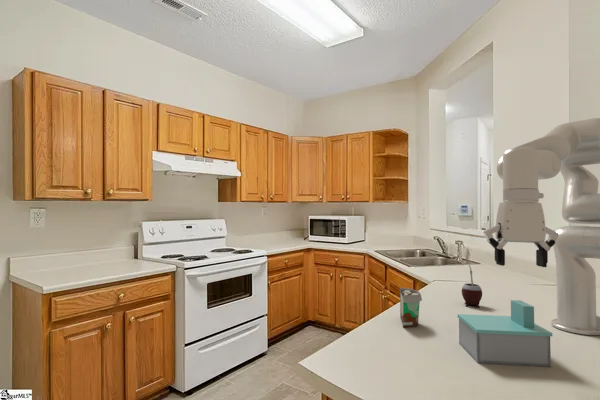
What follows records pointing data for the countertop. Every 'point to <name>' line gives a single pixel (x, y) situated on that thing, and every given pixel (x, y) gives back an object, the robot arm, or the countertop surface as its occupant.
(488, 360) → the tub
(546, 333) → the lid
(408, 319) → the food container
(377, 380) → the countertop surface
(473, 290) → the mate gourd
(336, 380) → the countertop surface
